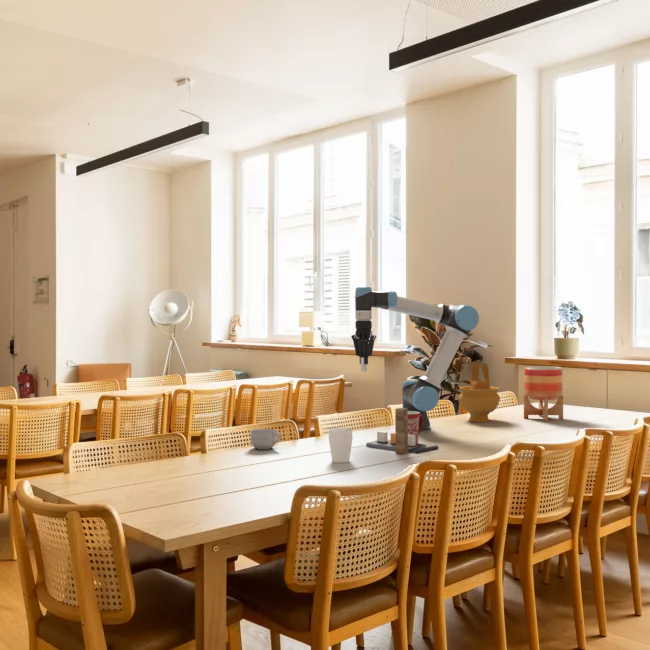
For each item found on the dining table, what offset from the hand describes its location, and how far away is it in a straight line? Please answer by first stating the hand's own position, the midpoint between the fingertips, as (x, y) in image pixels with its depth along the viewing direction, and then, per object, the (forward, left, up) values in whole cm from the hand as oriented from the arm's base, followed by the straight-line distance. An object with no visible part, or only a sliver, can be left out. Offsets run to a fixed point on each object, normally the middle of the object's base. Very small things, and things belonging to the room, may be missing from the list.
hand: (363, 371), depth 330 cm
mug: (+4, +29, -30) cm, 42 cm away
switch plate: (+17, +29, -29) cm, 44 cm away
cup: (+52, +28, -30) cm, 66 cm away
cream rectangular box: (+17, +36, -28) cm, 48 cm away
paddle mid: (+17, +29, -28) cm, 43 cm away
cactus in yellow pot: (-71, +21, -30) cm, 80 cm away
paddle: (+17, +22, -28) cm, 39 cm away
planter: (-96, +45, -30) cm, 110 cm away
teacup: (+52, -12, -30) cm, 61 cm away
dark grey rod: (+15, +43, -29) cm, 54 cm away
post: (+26, +38, -29) cm, 54 cm away
